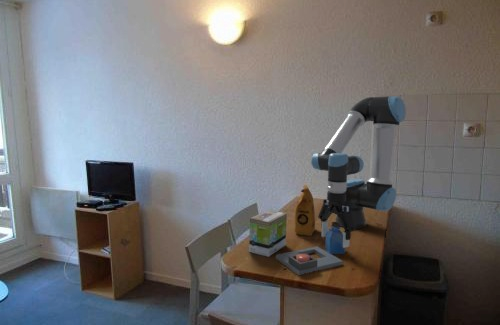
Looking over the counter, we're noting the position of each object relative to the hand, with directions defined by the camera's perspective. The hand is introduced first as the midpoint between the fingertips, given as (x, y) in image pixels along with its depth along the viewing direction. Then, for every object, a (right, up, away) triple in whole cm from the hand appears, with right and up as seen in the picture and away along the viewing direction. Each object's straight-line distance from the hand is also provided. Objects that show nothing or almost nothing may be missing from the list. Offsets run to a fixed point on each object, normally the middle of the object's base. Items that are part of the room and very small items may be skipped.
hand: (334, 241), depth 145 cm
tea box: (-28, -4, +3) cm, 28 cm away
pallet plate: (-13, -6, -10) cm, 17 cm away
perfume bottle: (0, -4, +1) cm, 4 cm away
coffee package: (-9, -1, +24) cm, 26 cm away
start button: (-16, -4, -16) cm, 23 cm away
